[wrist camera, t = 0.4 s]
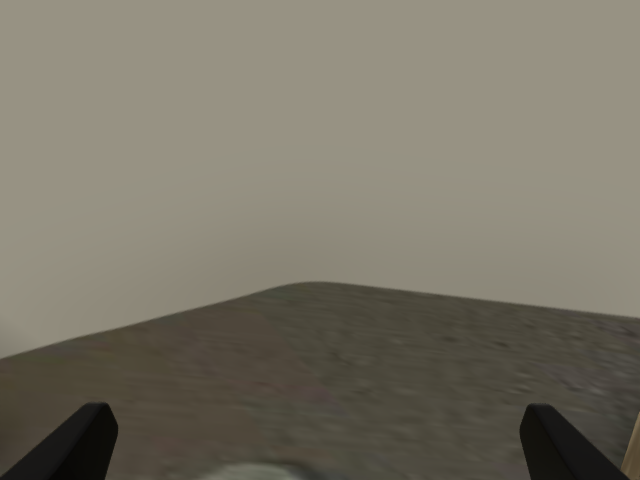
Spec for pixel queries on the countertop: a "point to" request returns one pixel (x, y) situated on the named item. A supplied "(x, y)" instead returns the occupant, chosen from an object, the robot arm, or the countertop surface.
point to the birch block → (633, 454)
